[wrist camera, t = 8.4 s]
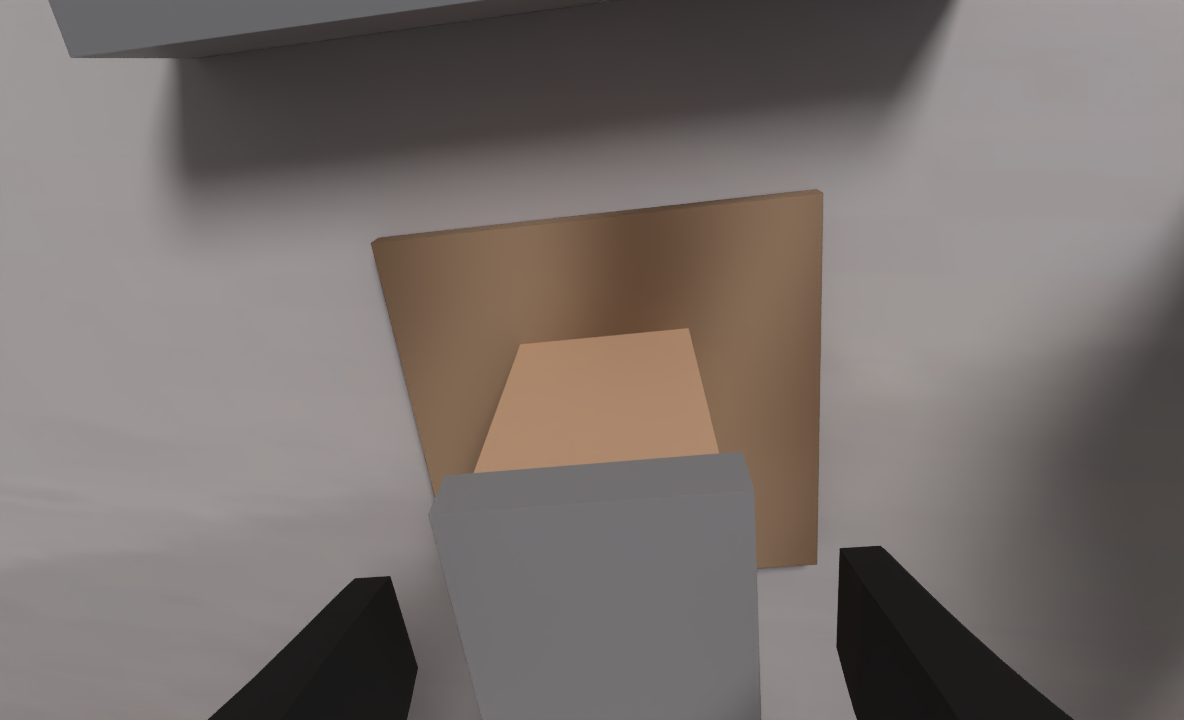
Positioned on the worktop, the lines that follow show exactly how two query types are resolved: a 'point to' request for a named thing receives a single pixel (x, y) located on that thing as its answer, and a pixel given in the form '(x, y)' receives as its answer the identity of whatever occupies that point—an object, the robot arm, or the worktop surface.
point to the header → (254, 22)
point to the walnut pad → (630, 328)
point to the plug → (604, 542)
